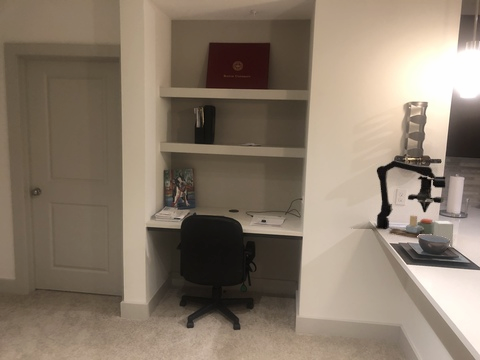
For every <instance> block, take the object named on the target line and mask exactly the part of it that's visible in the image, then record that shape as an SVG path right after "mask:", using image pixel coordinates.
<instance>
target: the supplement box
mask: <svg viewBox="0 0 480 360" xmlns="http://www.w3.org/2000/svg"><path fill="white" fill-rule="evenodd" d="M434 235H438V236H443V237H446V238H448V239H450V241H451V242H450V246H452V247H453V241H454V238H453V237H454V223H452V222H451V221H448V220H434V233H433V236H434Z"/></svg>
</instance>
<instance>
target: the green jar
mask: <svg viewBox="0 0 480 360" xmlns="http://www.w3.org/2000/svg"><path fill="white" fill-rule="evenodd" d="M417 225H421V230H422V229H423V230H424V233H426V234H425V235H430V234H432V235H434V222H433V221H432V222H431V223H430V224H426V223H423V222H421V220H420V221H417ZM419 232H420V231H419Z"/></svg>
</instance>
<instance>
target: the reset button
mask: <svg viewBox="0 0 480 360" xmlns="http://www.w3.org/2000/svg"><path fill="white" fill-rule="evenodd" d="M420 221H421V222H423V223H426V224H430V223H431V222H433V219H428V218H422V219H421V220H420Z"/></svg>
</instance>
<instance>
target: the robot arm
mask: <svg viewBox="0 0 480 360" xmlns="http://www.w3.org/2000/svg"><path fill="white" fill-rule="evenodd" d="M393 168H398V169H403V170H406V171H411V172H414V173H417V174H418V175H419V177H417V180H420V188H419V191H418V192H417V194H413V193H411V194H408V196H407V200H409V201H414V200H417V203H419V204H420V206H421V208H422V211H423V213H426V212H427V210H428V208H429V207H430V205H431V204H432V203H437V204H442V203H444V197H442V196H435V197H432V190H433V189H432V186H433V187H434V188H435V189H437V188H438V189H439V188H441V189H446V176H437V175H435V174H434V172H433V168H432V167H431V166H429V165H415V164H412V163H407V162H402V161H400V160H399V161H397V160H392V161H391V162H389V163H388V164H386V165H380V166H378V167H377V168H376V174H377V176H378V179H379V186H380V195H381V206H380V211H379V213H378V214H377V215H376V226H375V228H379V229H388V228H390V220H389V219H390V218H389V216H391V213H392V212H393V203H390V201H389V189H388V182H387V179H388V173H389V171H390V170H392V169H393Z"/></svg>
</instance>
